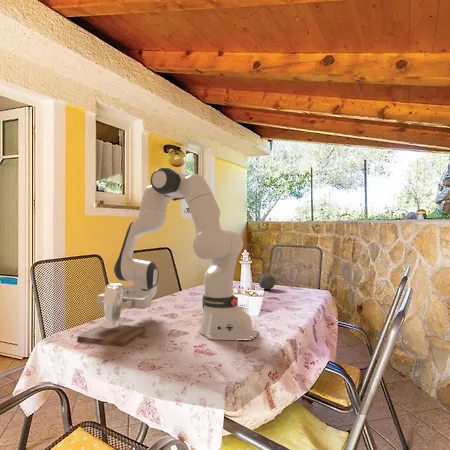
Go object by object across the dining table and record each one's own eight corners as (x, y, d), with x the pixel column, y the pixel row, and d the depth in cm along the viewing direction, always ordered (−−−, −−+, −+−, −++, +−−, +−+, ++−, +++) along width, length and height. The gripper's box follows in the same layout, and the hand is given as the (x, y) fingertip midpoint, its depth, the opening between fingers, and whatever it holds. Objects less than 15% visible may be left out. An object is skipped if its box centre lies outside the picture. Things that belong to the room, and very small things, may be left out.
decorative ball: (275, 288, 213) (275, 273, 213) (274, 292, 203) (274, 275, 203) (259, 287, 215) (259, 272, 214) (257, 291, 205) (258, 274, 205)
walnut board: (146, 331, 128) (146, 327, 128) (123, 346, 112) (123, 342, 112) (104, 326, 132) (104, 322, 132) (77, 340, 117) (77, 336, 116)
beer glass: (114, 331, 118) (118, 289, 117) (97, 327, 120) (100, 286, 119) (125, 325, 125) (128, 285, 124) (108, 321, 127) (112, 282, 126)
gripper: (108, 286, 137) (87, 294, 124) (154, 290, 132) (137, 299, 119) (108, 302, 137) (86, 311, 124) (154, 306, 132) (137, 316, 119)
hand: (112, 305), depth 121 cm, fingers closed on beer glass, 6 cm apart
